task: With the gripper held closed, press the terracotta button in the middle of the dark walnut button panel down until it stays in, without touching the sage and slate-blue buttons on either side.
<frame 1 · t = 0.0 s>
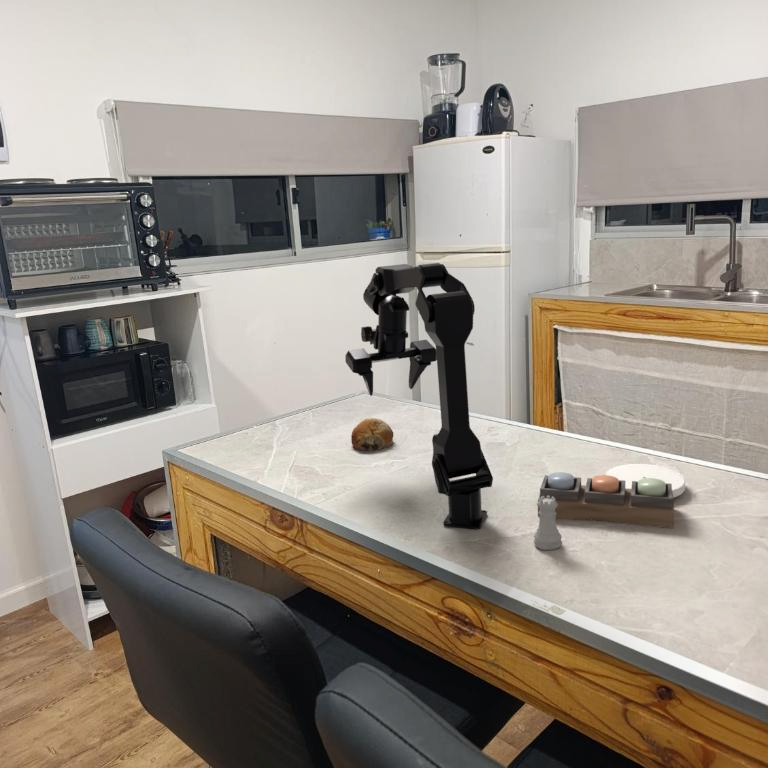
hand: (390, 391, 152), 15 cm above the table, tool pointing down, fingers open, 9 cm apart
sage button: (651, 488, 119), point 5 cm above the table, slide at 0.0 cm
button panel: (605, 512, 123), on the table
bread roll: (372, 445, 167), on the table
slate-blue button: (560, 482, 125), point 5 cm above the table, slide at 0.0 cm
plastic lid: (643, 491, 132), on the table
rook chess piece: (547, 545, 113), on the table
terracotta button: (605, 485, 122), point 5 cm above the table, slide at 0.0 cm
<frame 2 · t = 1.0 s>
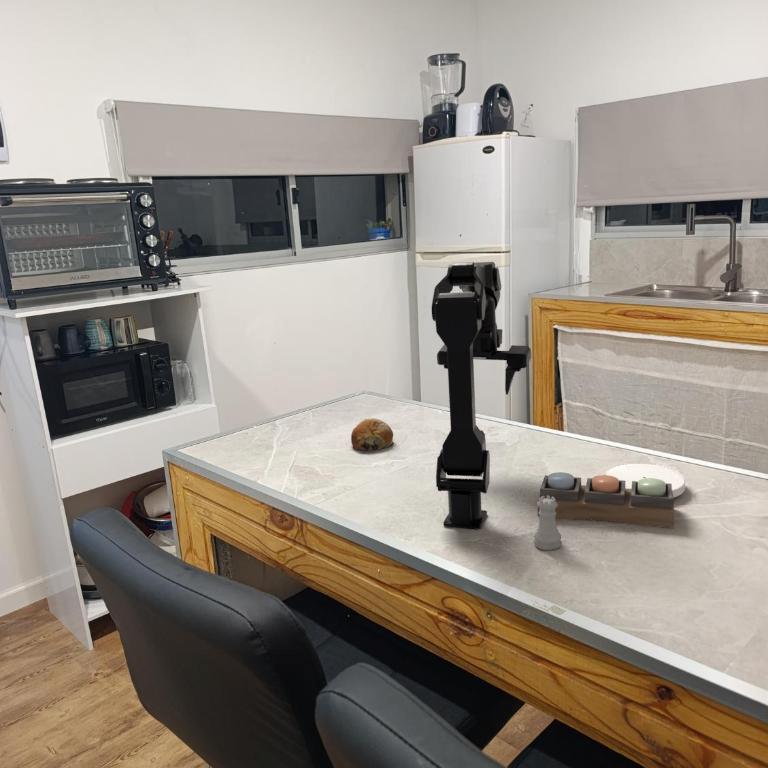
hand: (485, 392, 149), 14 cm above the table, tool pointing down, fingers open, 9 cm apart
nothing on the table moved.
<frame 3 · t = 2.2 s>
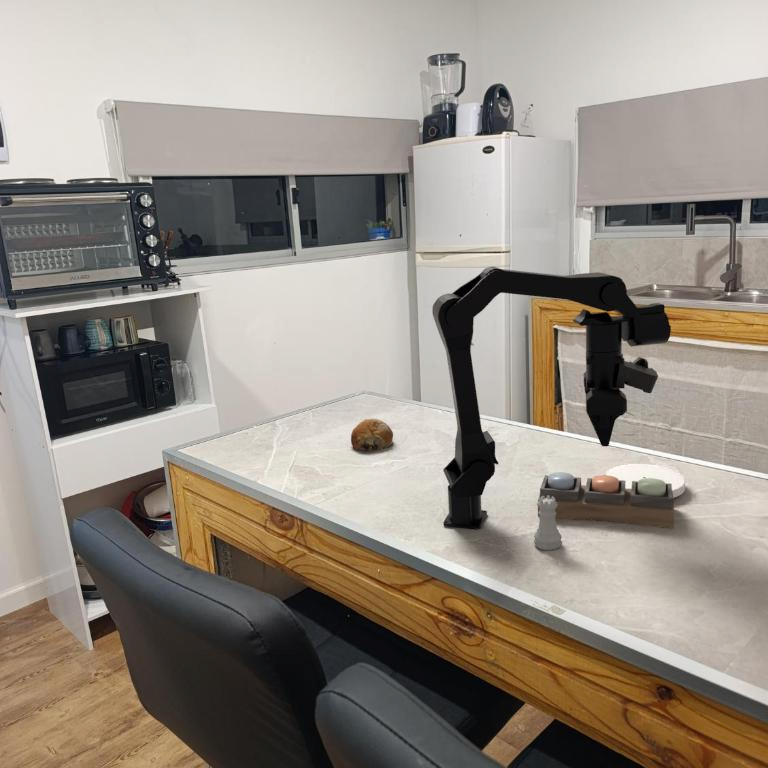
hand: (603, 436, 122), 13 cm above the table, tool pointing down, fingers open, 9 cm apart
nothing on the table moved.
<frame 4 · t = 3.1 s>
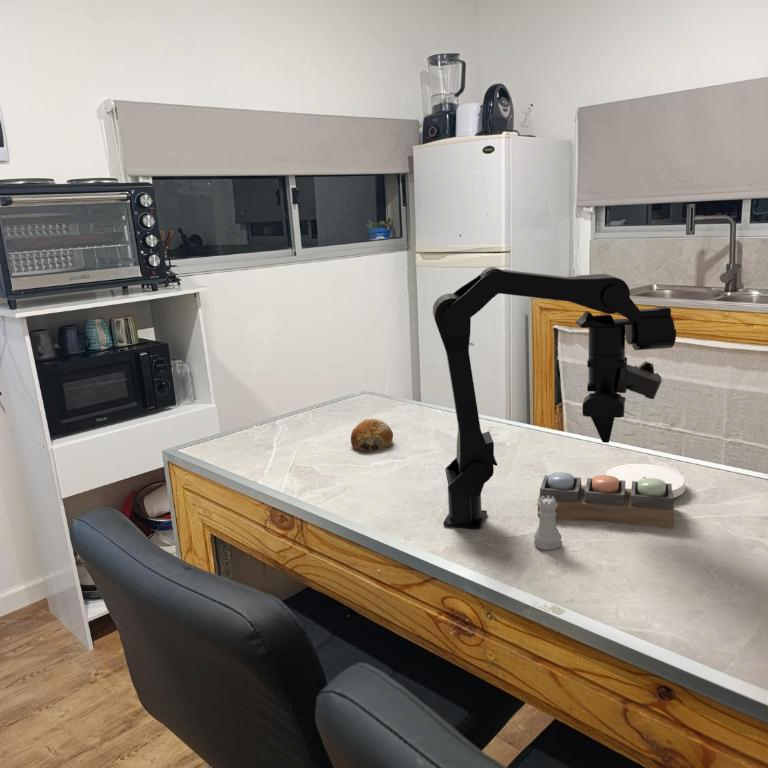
hand: (605, 441, 120), 13 cm above the table, tool pointing down, fingers closed
nothing on the table moved.
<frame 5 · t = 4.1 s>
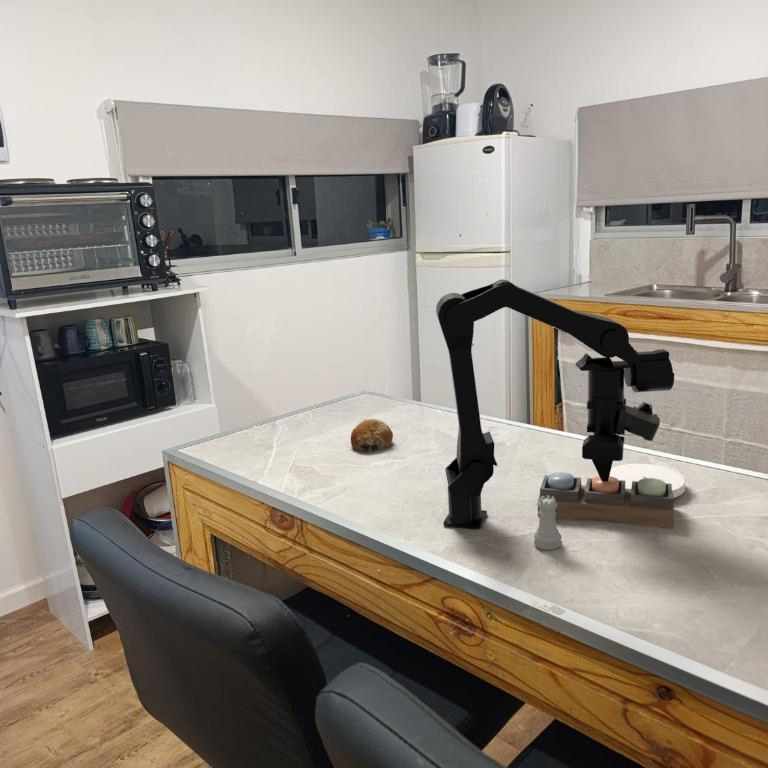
hand: (604, 480, 122), 6 cm above the table, tool pointing down, fingers closed, pressing on terracotta button
terracotta button: (605, 485, 122), point 5 cm above the table, slide at 0.1 cm, touching gripper
everything else where it was.
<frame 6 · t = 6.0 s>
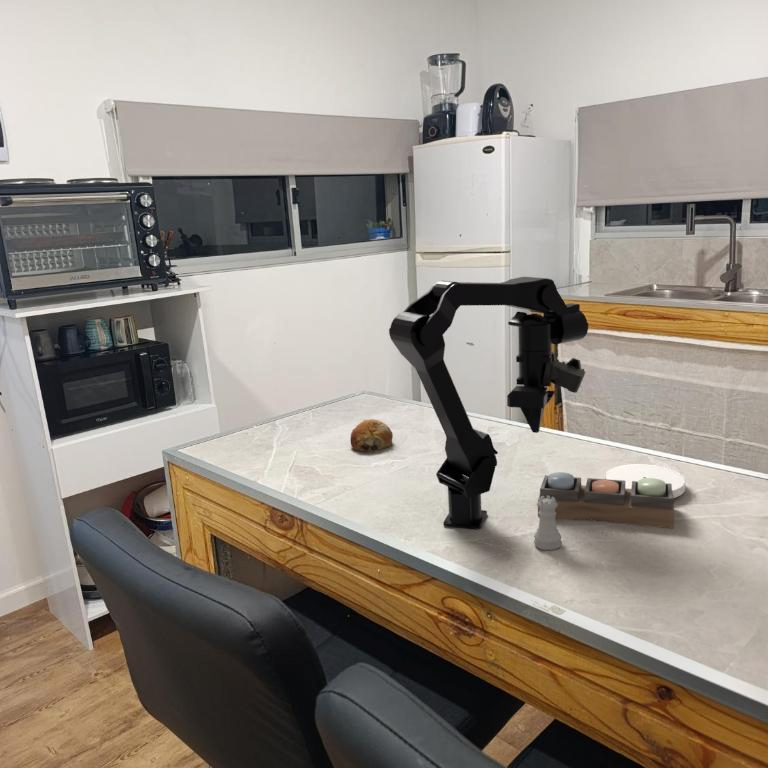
hand: (535, 432, 129), 12 cm above the table, tool pointing down, fingers closed
terracotta button: (605, 490, 122), point 4 cm above the table, slide at 0.9 cm
everything else where it was.
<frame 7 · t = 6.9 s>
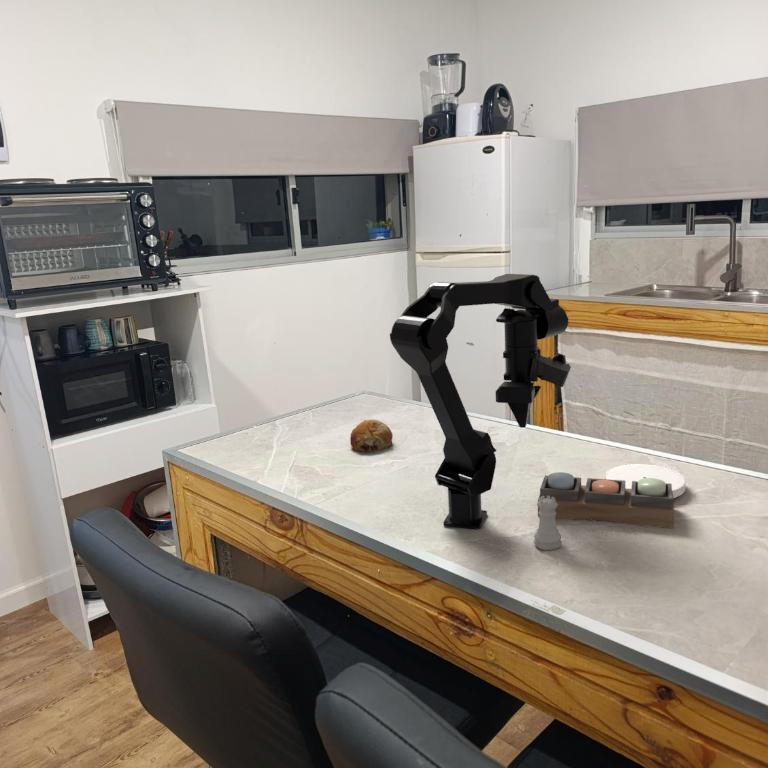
hand: (522, 426, 131), 13 cm above the table, tool pointing down, fingers closed
nothing on the table moved.
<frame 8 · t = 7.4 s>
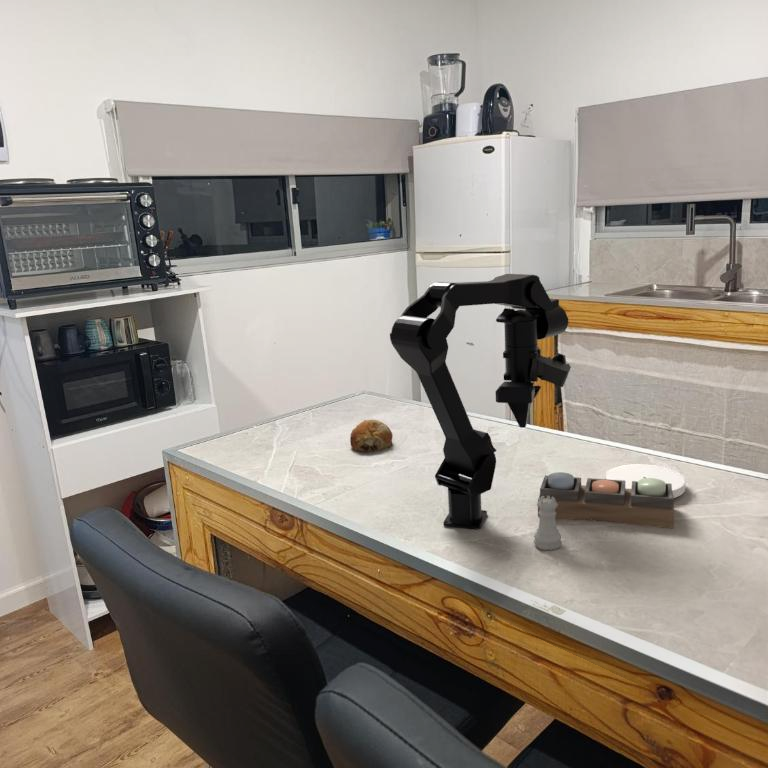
hand: (522, 426, 131), 13 cm above the table, tool pointing down, fingers closed
nothing on the table moved.
at the end: terracotta button slide at 0.9 cm; sage button slide at 0.0 cm; slate-blue button slide at 0.0 cm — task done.
